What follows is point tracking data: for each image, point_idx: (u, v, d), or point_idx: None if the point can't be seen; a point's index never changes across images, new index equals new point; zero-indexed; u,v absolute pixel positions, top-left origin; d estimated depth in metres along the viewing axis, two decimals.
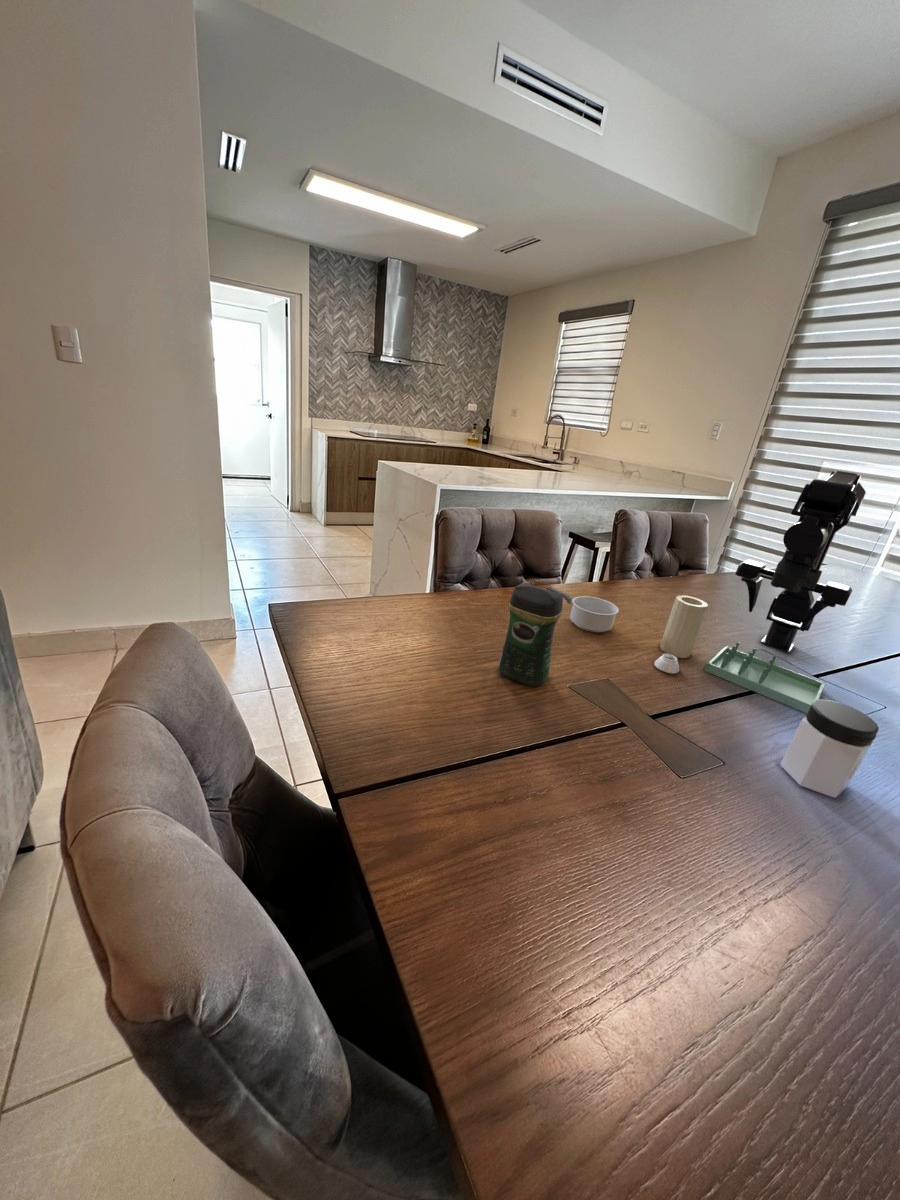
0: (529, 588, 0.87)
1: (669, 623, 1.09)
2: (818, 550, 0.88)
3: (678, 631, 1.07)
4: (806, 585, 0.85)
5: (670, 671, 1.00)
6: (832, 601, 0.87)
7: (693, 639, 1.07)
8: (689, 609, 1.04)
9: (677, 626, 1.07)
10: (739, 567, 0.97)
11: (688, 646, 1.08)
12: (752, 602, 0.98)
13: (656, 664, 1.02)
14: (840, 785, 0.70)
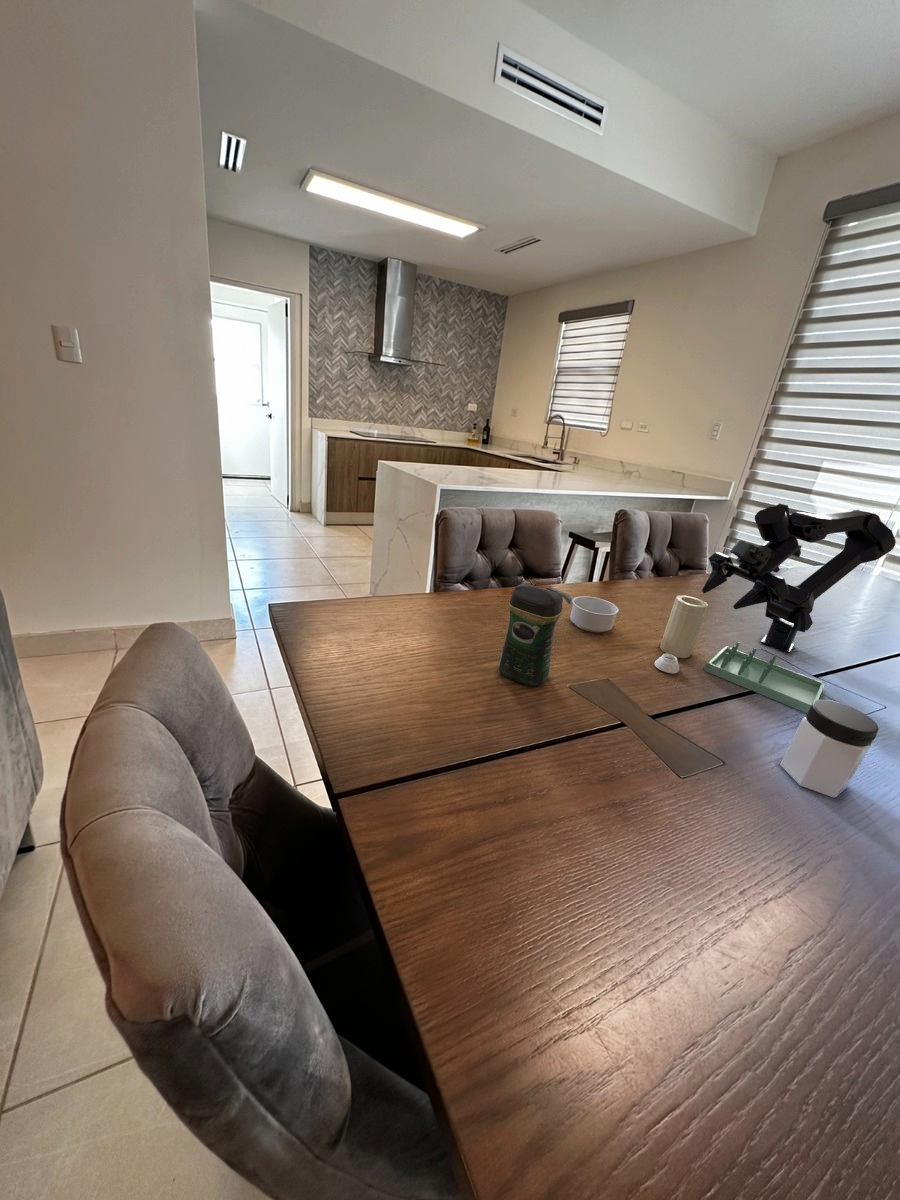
0: (529, 588, 0.87)
1: (669, 623, 1.09)
2: (778, 552, 1.05)
3: (678, 631, 1.07)
4: (754, 550, 1.02)
5: (670, 671, 1.00)
6: (768, 580, 1.01)
7: (693, 639, 1.07)
8: (689, 609, 1.04)
9: (677, 626, 1.07)
10: (714, 553, 1.15)
11: (688, 646, 1.08)
12: (708, 582, 1.13)
13: (656, 664, 1.02)
14: (840, 785, 0.70)
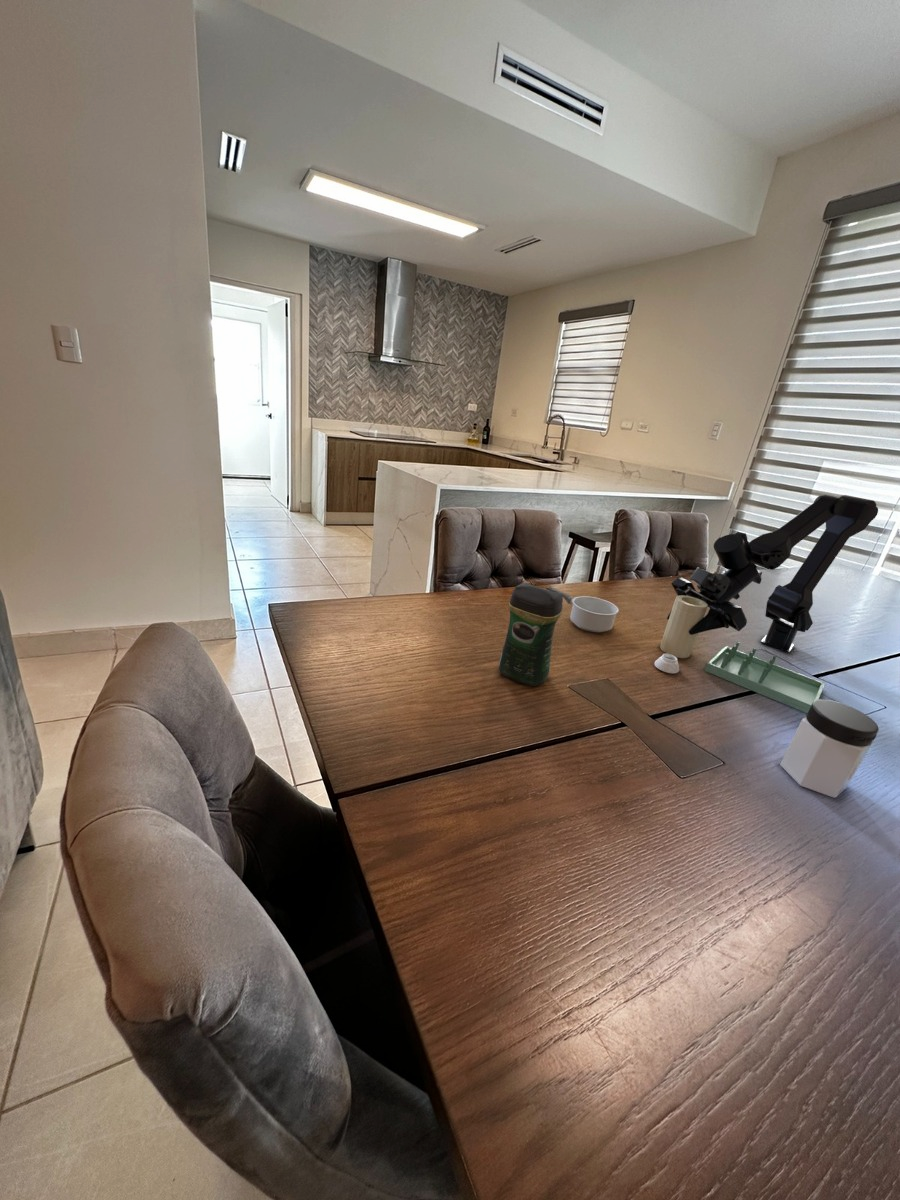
0: (529, 588, 0.87)
1: (669, 623, 1.09)
2: (737, 579, 1.05)
3: (678, 631, 1.07)
4: (712, 579, 1.02)
5: (670, 671, 1.00)
6: (725, 609, 1.00)
7: (693, 639, 1.07)
8: (689, 609, 1.04)
9: (677, 626, 1.07)
10: None
11: (688, 646, 1.08)
12: None
13: (656, 664, 1.02)
14: (840, 785, 0.70)
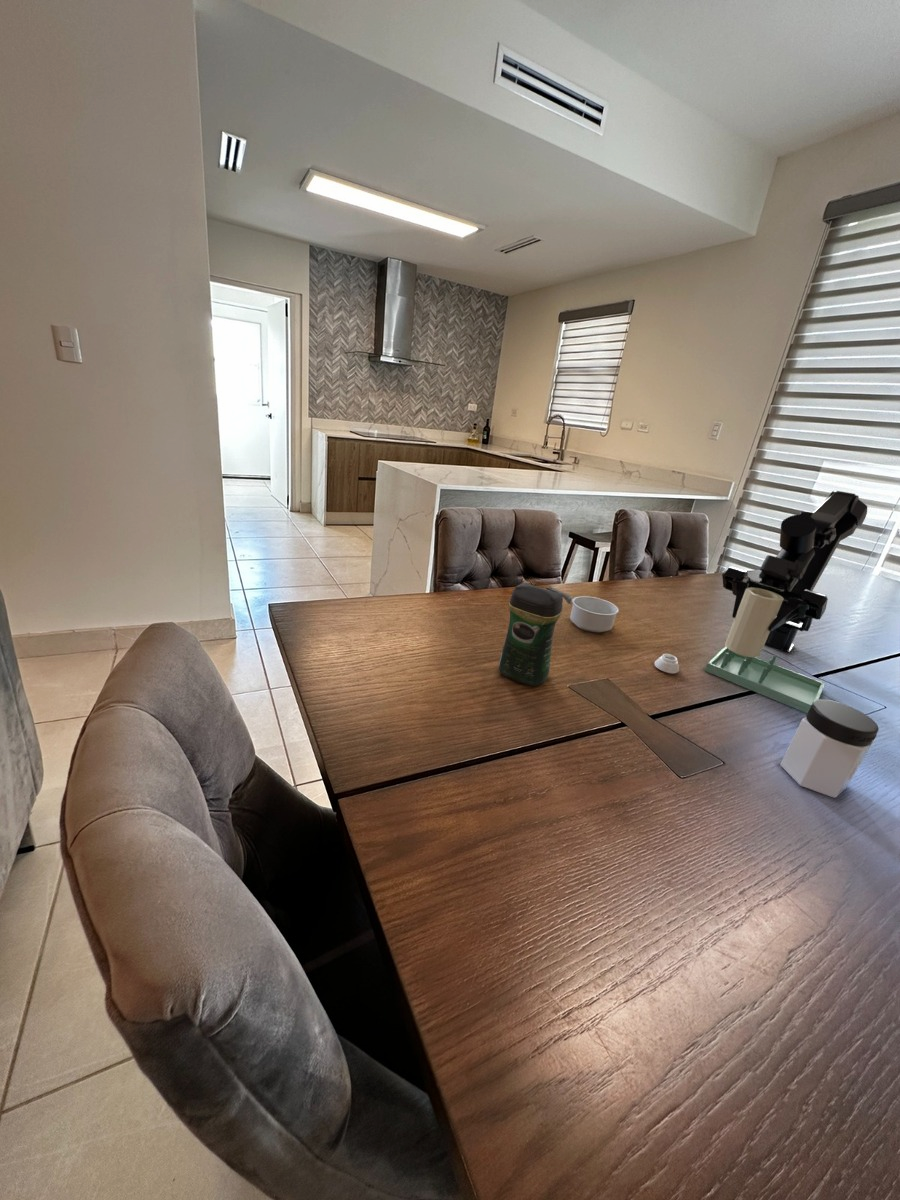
0: (529, 588, 0.87)
1: (742, 621, 0.96)
2: None
3: (757, 630, 0.95)
4: (794, 567, 0.91)
5: (670, 671, 1.00)
6: (811, 599, 0.91)
7: None
8: (771, 604, 0.93)
9: (755, 624, 0.95)
10: (727, 568, 1.02)
11: (764, 643, 0.97)
12: (737, 605, 0.99)
13: (656, 664, 1.02)
14: (840, 785, 0.70)
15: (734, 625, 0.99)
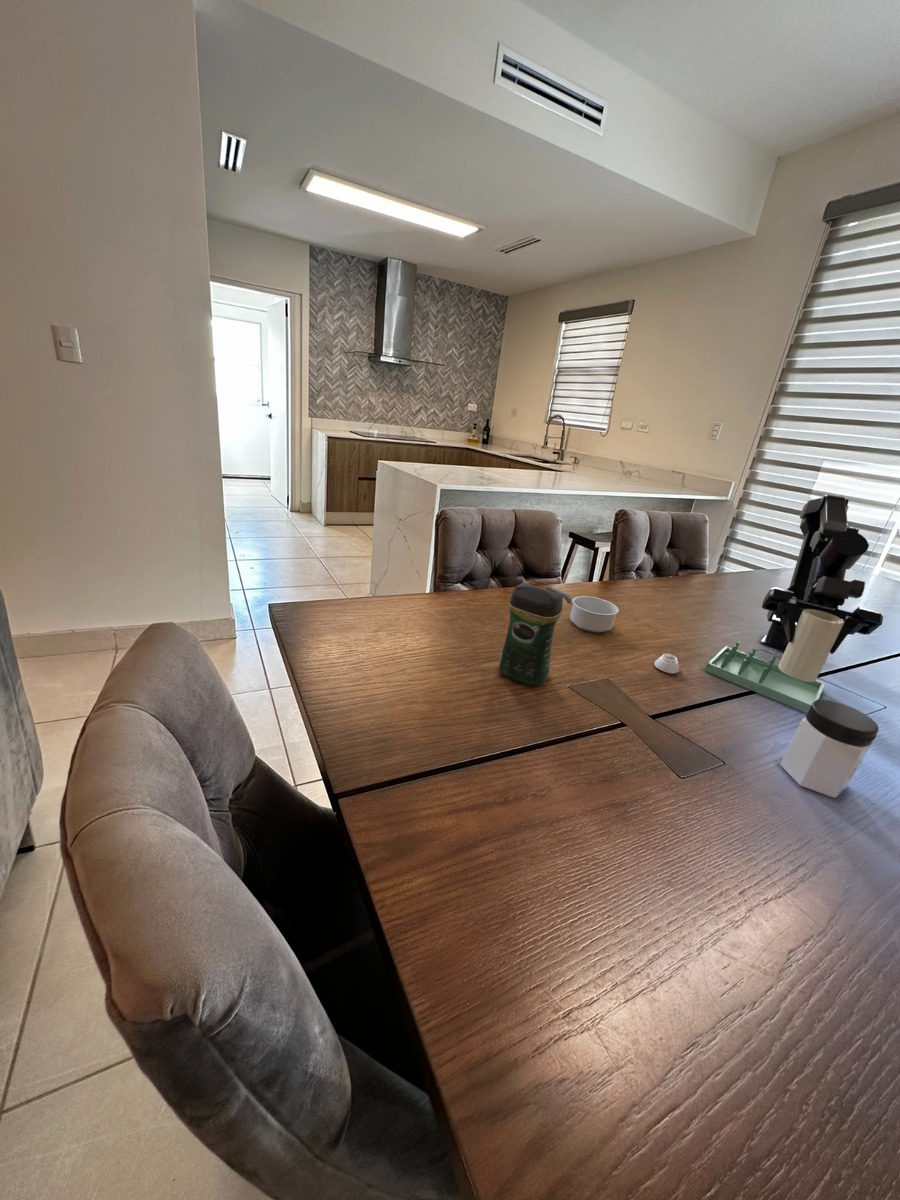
0: (529, 588, 0.87)
1: (805, 647, 0.92)
2: (842, 579, 0.95)
3: (821, 654, 0.91)
4: (857, 588, 0.88)
5: (670, 671, 1.00)
6: (871, 618, 0.89)
7: None
8: (837, 628, 0.89)
9: (821, 649, 0.91)
10: (773, 589, 0.97)
11: None
12: (793, 629, 0.94)
13: (656, 664, 1.02)
14: (840, 785, 0.70)
15: (794, 651, 0.94)
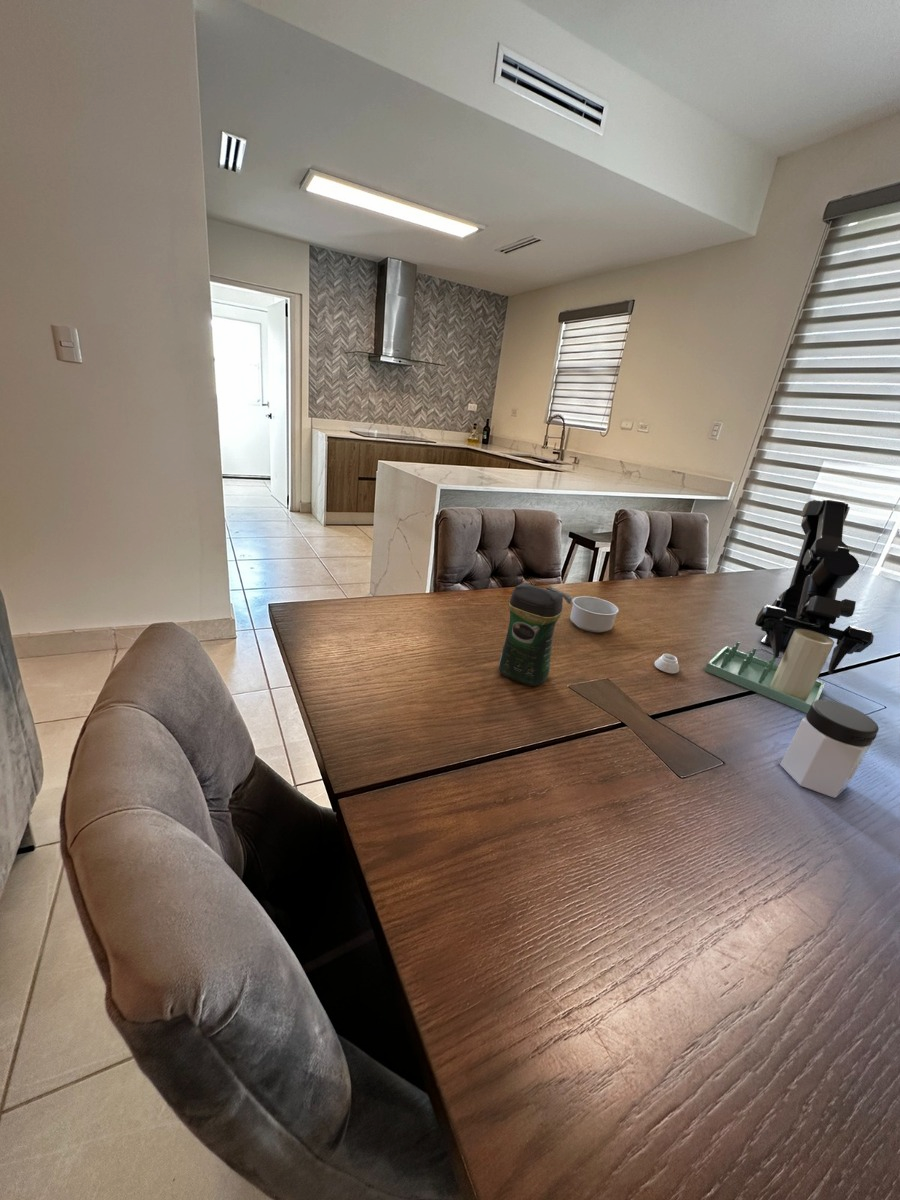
0: (529, 588, 0.87)
1: (796, 667, 0.93)
2: (833, 597, 0.97)
3: (812, 674, 0.93)
4: (848, 608, 0.89)
5: (670, 671, 1.00)
6: (861, 637, 0.91)
7: None
8: (827, 649, 0.91)
9: (811, 669, 0.92)
10: (766, 607, 0.98)
11: None
12: (779, 645, 0.96)
13: (656, 664, 1.02)
14: (840, 785, 0.70)
15: (785, 670, 0.95)
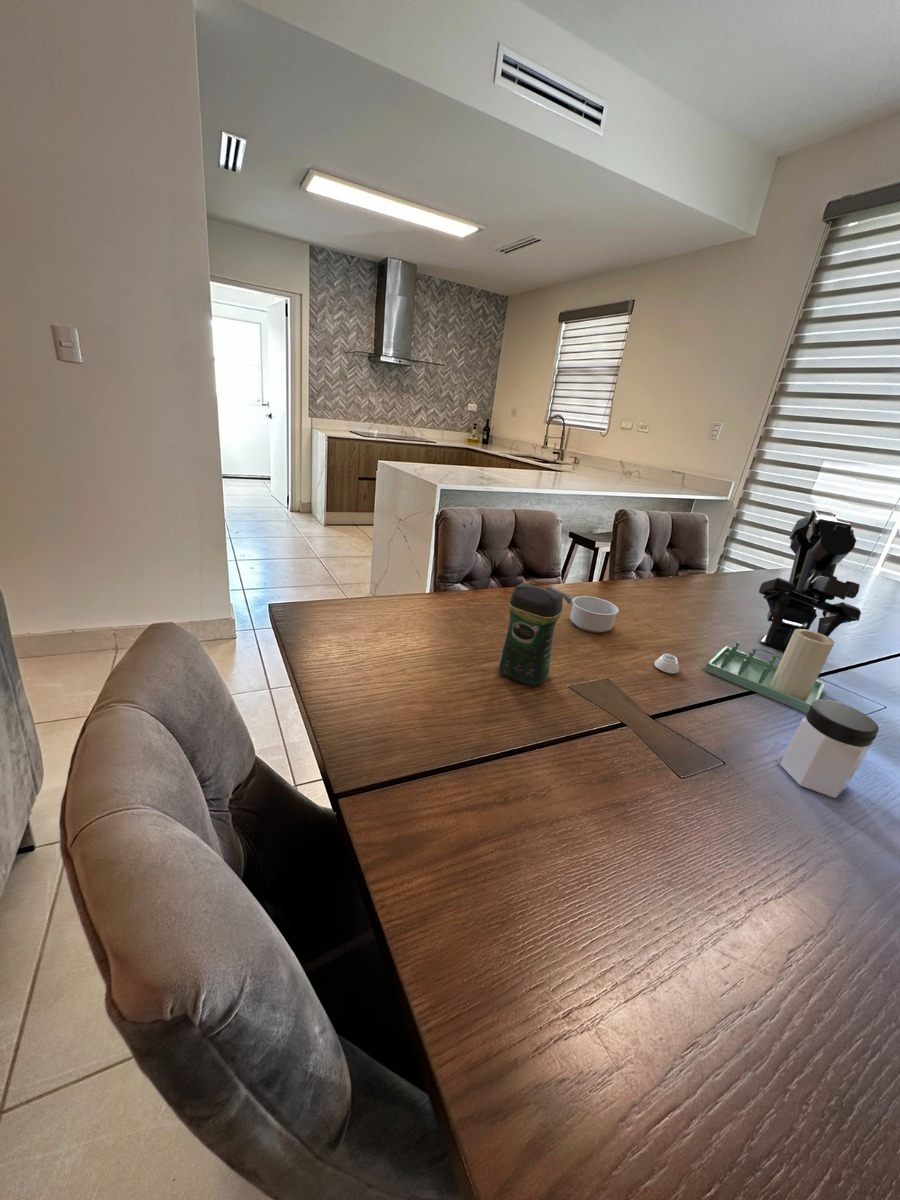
0: (529, 588, 0.87)
1: (796, 667, 0.93)
2: (832, 571, 1.02)
3: (812, 674, 0.93)
4: (854, 592, 0.96)
5: (670, 671, 1.00)
6: (852, 615, 1.00)
7: None
8: (827, 649, 0.91)
9: (811, 669, 0.92)
10: (777, 580, 1.02)
11: None
12: (782, 617, 1.02)
13: (656, 664, 1.02)
14: (840, 785, 0.70)
15: (785, 670, 0.95)
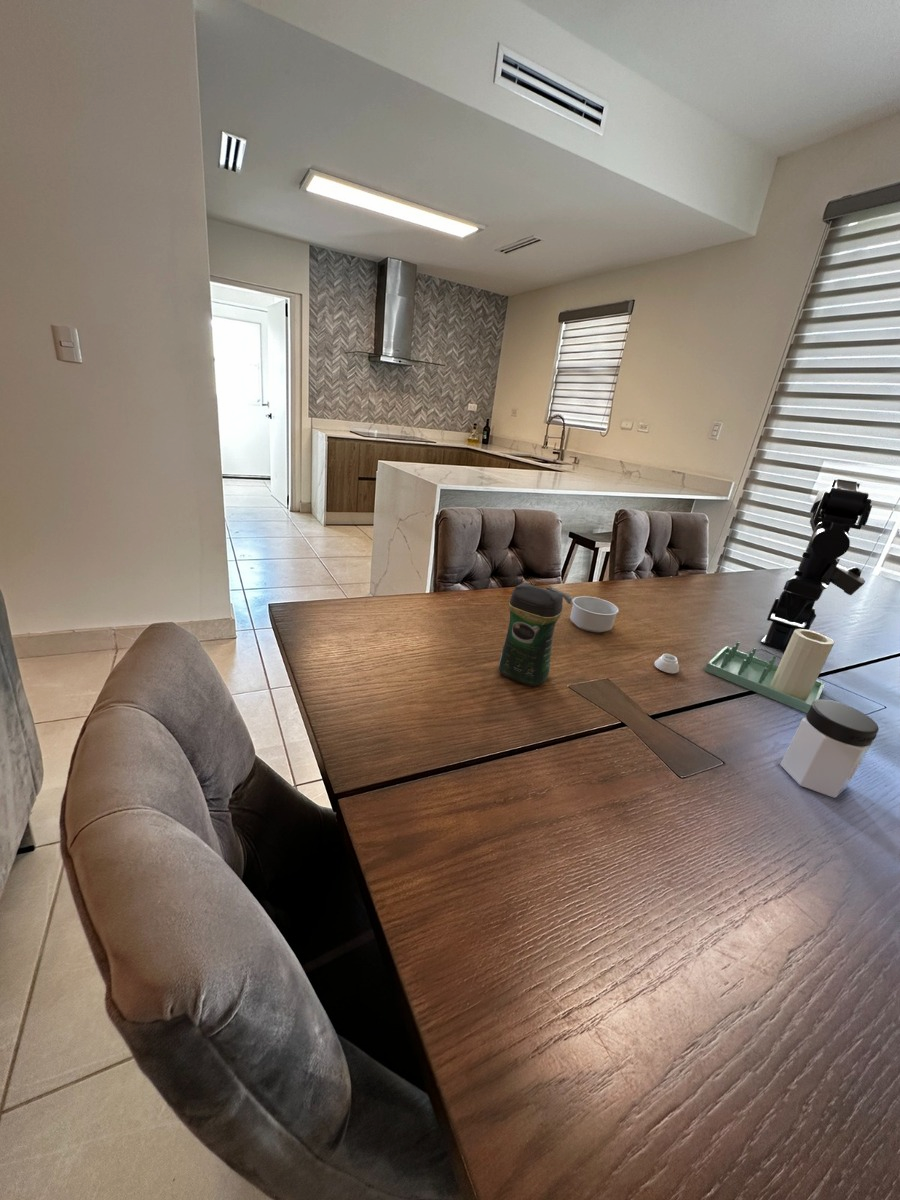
0: (529, 588, 0.87)
1: (796, 667, 0.93)
2: None
3: (812, 674, 0.93)
4: None
5: (670, 671, 1.00)
6: (829, 583, 1.05)
7: None
8: (827, 649, 0.91)
9: (811, 669, 0.92)
10: (820, 591, 0.93)
11: None
12: (799, 613, 1.00)
13: (656, 664, 1.02)
14: (840, 785, 0.70)
15: (785, 670, 0.95)
